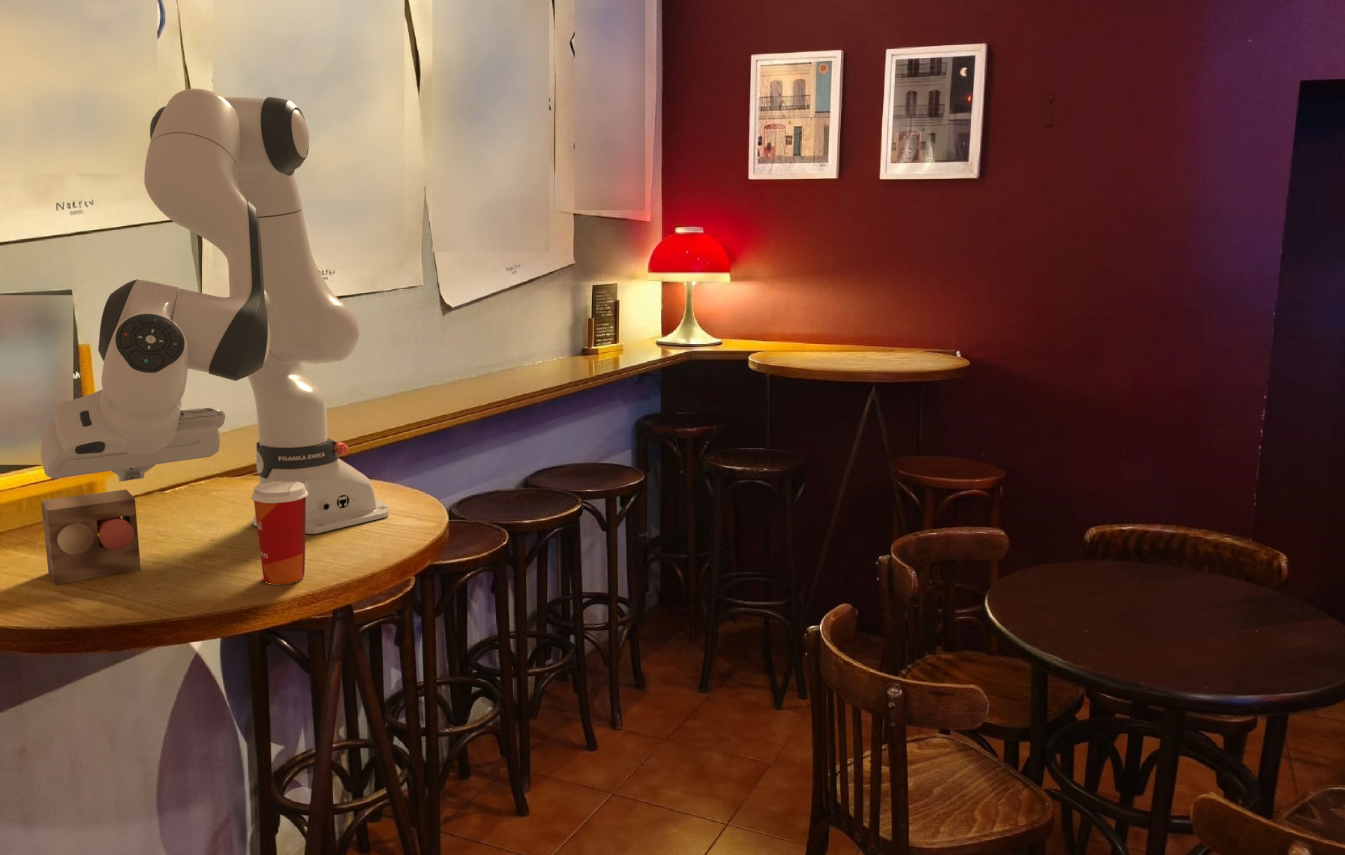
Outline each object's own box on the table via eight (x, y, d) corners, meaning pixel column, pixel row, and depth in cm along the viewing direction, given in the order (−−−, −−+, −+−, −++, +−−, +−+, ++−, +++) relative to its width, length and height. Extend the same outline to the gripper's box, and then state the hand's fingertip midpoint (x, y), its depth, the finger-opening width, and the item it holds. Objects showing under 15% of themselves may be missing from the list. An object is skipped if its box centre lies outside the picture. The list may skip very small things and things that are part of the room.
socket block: (132, 558, 153) (126, 489, 150) (142, 572, 147) (136, 500, 145) (48, 572, 146) (41, 500, 144) (55, 587, 141) (48, 512, 138)
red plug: (120, 528, 153) (118, 500, 153) (135, 546, 145) (132, 518, 144) (87, 533, 151) (85, 505, 150) (101, 552, 143) (98, 522, 142)
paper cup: (272, 567, 151) (267, 478, 148) (321, 571, 150) (317, 481, 147) (245, 586, 143) (239, 492, 140) (296, 589, 142) (291, 495, 140)
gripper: (221, 387, 131) (207, 444, 140) (38, 406, 118) (37, 467, 128) (233, 427, 128) (218, 482, 138) (49, 450, 116) (46, 509, 126)
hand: (130, 475), depth 133 cm, fingers closed
